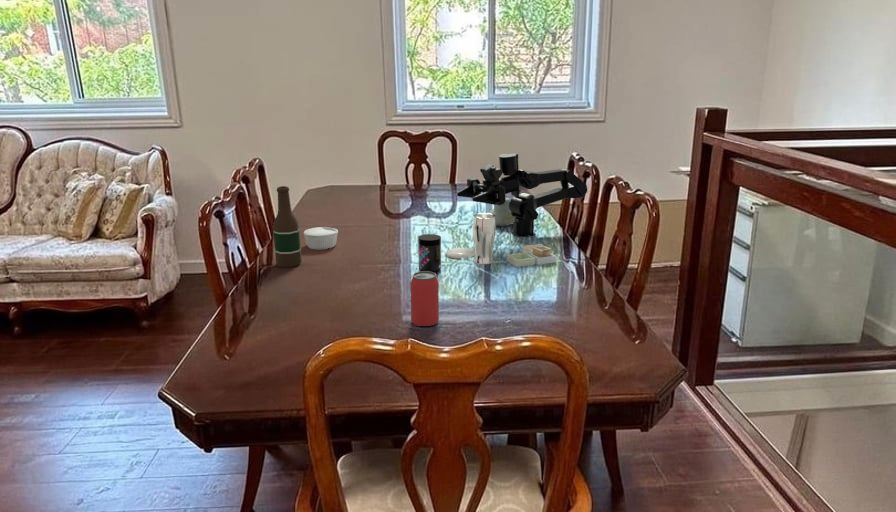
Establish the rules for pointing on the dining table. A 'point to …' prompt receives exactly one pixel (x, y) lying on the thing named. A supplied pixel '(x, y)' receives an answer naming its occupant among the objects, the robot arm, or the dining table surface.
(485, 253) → the beer glass
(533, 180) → the robot arm
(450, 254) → the stone coaster
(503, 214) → the air freshener
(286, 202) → the beer bottle
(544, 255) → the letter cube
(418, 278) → the beer can
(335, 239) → the ramekin
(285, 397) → the dining table surface
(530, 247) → the cream dish
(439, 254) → the supplement container
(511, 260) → the sage dish
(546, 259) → the pale blue dish
